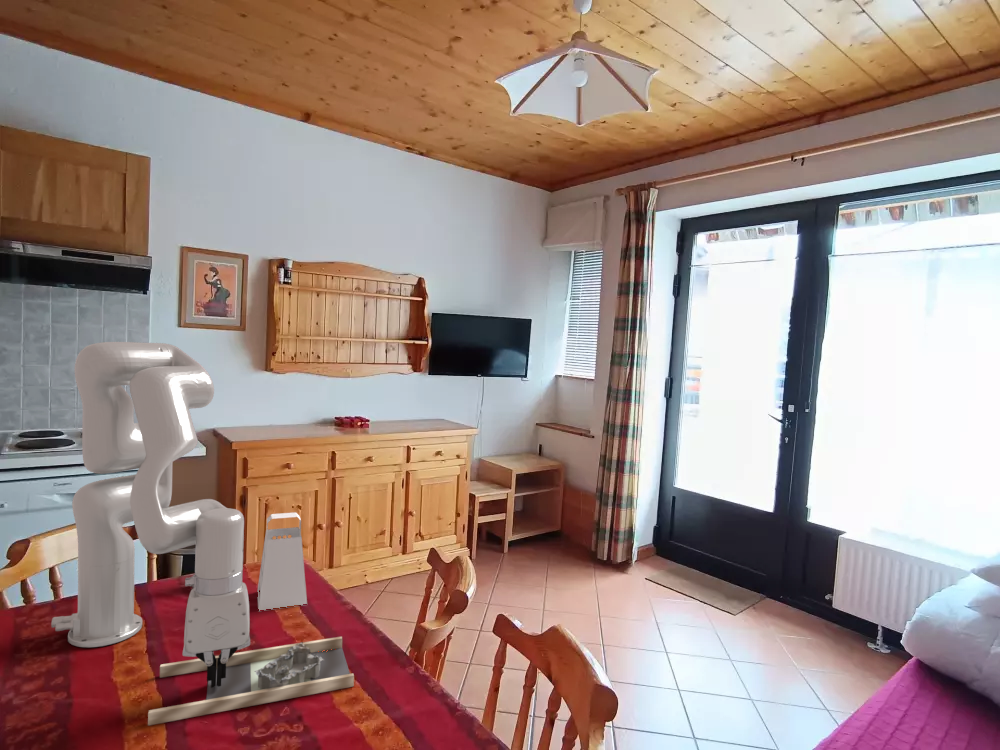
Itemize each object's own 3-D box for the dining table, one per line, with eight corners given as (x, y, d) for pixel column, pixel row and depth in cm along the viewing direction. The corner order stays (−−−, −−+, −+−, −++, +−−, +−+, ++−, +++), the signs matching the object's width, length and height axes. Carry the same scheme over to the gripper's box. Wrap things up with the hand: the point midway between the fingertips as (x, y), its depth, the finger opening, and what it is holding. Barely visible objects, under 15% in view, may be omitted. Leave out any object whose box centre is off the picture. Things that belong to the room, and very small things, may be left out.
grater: (257, 592, 140) (259, 510, 139) (302, 586, 145) (305, 507, 144) (258, 611, 131) (260, 524, 130) (307, 604, 135) (309, 520, 134)
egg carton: (303, 660, 112) (304, 639, 112) (327, 675, 108) (328, 653, 107) (251, 684, 104) (251, 662, 103) (274, 701, 99) (275, 678, 99)
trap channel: (148, 725, 92) (148, 713, 92) (160, 675, 105) (160, 664, 105) (353, 686, 105) (354, 675, 104) (341, 646, 118) (341, 636, 118)
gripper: (167, 596, 95) (165, 704, 96) (266, 584, 101) (262, 686, 102) (172, 577, 101) (169, 679, 103) (264, 568, 108) (261, 663, 109)
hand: (216, 682), depth 102 cm, fingers closed
